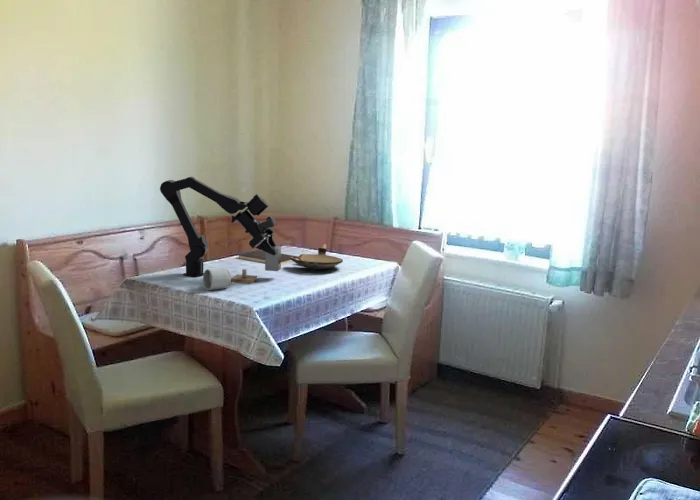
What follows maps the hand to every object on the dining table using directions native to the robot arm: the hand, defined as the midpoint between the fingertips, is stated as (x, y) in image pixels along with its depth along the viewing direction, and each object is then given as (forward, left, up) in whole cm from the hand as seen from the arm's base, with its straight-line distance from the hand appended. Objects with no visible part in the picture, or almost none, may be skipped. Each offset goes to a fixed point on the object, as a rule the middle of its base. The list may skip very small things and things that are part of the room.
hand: (276, 253), depth 264 cm
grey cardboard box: (-1, +1, -7) cm, 7 cm away
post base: (-10, +8, -10) cm, 16 cm away
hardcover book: (+29, +26, -11) cm, 41 cm away
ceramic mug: (-26, +8, -11) cm, 30 cm away
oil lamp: (+30, -1, -11) cm, 32 cm away
